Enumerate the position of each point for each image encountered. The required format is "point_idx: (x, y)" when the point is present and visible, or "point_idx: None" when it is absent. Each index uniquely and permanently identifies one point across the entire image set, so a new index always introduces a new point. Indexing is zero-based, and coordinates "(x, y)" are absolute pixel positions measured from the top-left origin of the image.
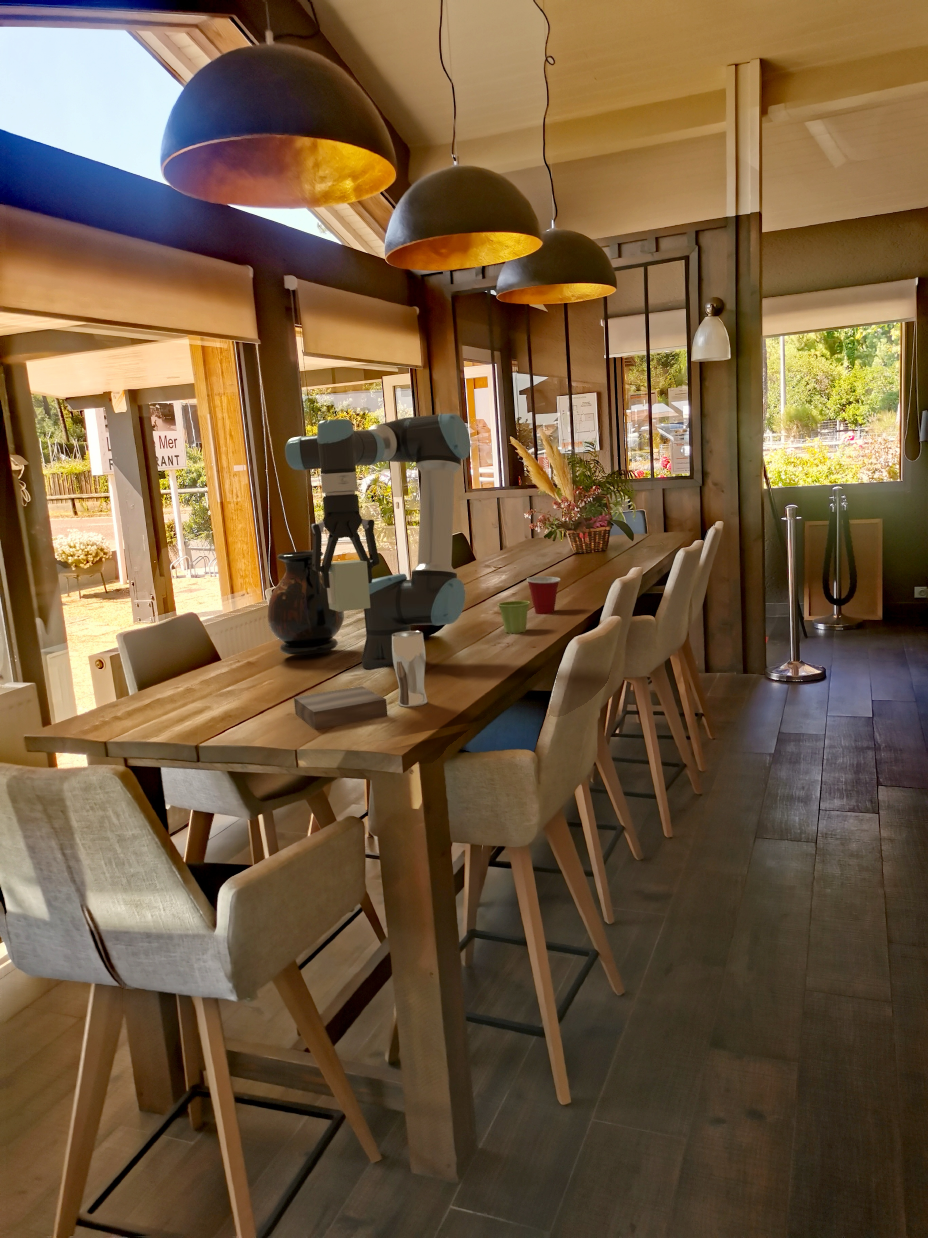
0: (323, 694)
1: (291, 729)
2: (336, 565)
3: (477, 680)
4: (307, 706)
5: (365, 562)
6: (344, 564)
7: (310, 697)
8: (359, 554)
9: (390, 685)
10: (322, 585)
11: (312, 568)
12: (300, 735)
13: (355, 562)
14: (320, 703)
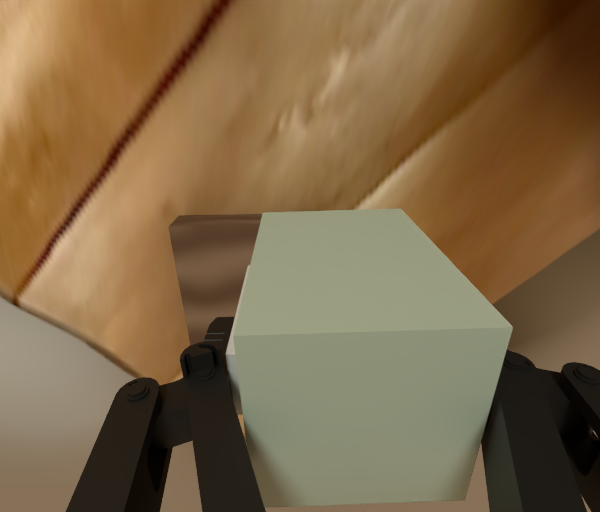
0: (228, 242)
1: (162, 304)
2: (262, 500)
3: (572, 198)
4: (185, 308)
5: (453, 493)
6: (315, 498)
7: (200, 249)
8: (497, 474)
9: (420, 106)
10: (209, 324)
11: (121, 393)
12: (173, 339)
13: (389, 501)
14: (210, 302)
